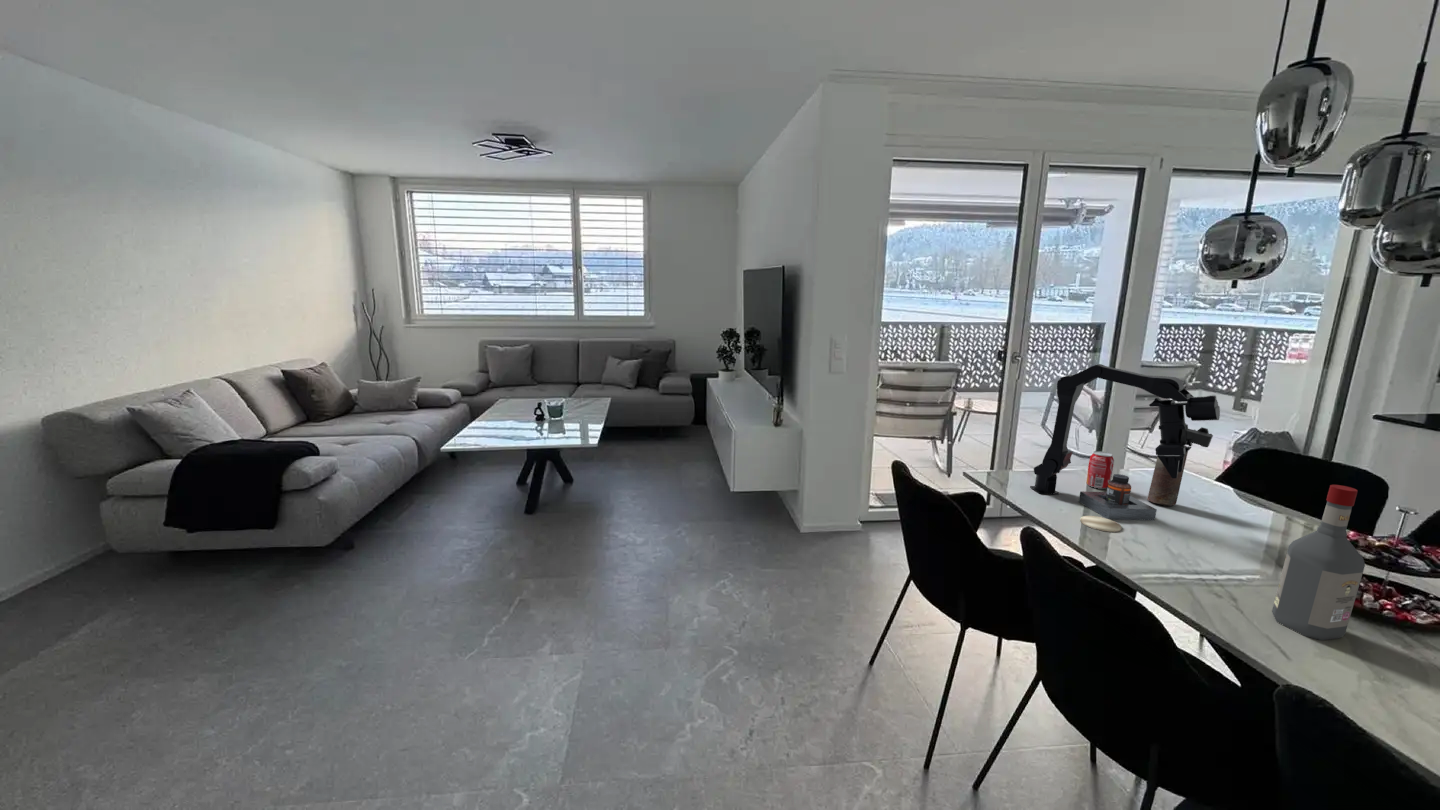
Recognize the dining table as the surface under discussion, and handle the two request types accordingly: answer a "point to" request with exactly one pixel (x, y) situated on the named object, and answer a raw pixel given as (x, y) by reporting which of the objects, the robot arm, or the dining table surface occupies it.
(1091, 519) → the coaster pad
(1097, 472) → the soda can
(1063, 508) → the dining table surface
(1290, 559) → the grey bottle
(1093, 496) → the socket plate
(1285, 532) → the dining table surface
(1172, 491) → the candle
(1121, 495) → the supplement bottle
